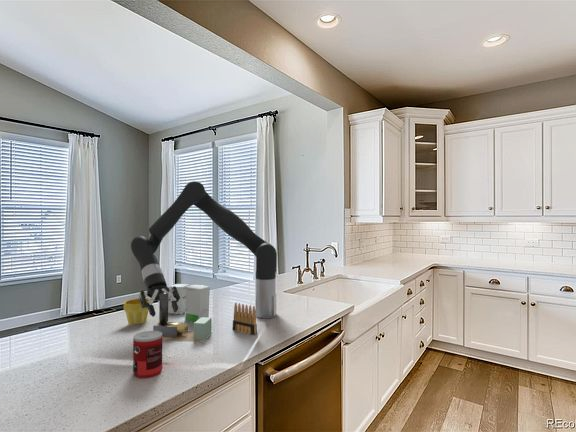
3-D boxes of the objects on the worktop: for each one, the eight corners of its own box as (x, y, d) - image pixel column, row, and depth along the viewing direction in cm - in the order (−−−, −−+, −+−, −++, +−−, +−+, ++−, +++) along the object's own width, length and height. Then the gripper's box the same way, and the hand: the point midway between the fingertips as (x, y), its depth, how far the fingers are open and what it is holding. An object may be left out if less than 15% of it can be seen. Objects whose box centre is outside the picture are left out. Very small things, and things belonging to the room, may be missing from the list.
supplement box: (182, 314, 156) (182, 287, 156) (167, 313, 158) (167, 286, 158) (189, 310, 163) (189, 284, 163) (175, 309, 165) (176, 283, 165)
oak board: (212, 335, 129) (212, 332, 129) (202, 345, 119) (202, 341, 119) (163, 332, 132) (163, 329, 132) (149, 342, 122) (149, 338, 122)
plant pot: (117, 325, 140) (118, 302, 140) (139, 319, 149) (139, 296, 149) (134, 329, 135) (134, 305, 135) (155, 322, 144) (155, 299, 144)
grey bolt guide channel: (182, 332, 128) (182, 322, 128) (176, 337, 123) (176, 326, 123) (160, 331, 130) (160, 321, 130) (153, 336, 124) (153, 325, 124)
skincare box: (184, 323, 144) (184, 286, 144) (194, 319, 149) (195, 283, 149) (199, 326, 140) (200, 288, 140) (210, 321, 146) (210, 285, 146)
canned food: (138, 366, 102) (138, 330, 102) (165, 366, 103) (165, 330, 103) (128, 379, 94) (128, 339, 94) (158, 378, 95) (158, 339, 95)
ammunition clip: (257, 337, 128) (257, 305, 128) (254, 338, 126) (254, 306, 126) (235, 332, 133) (235, 301, 133) (232, 333, 132) (232, 302, 132)
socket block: (211, 333, 128) (211, 317, 128) (204, 340, 121) (204, 323, 121) (201, 332, 128) (201, 317, 128) (193, 339, 121) (193, 323, 121)
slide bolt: (188, 331, 127) (188, 293, 127) (184, 334, 124) (184, 295, 124) (160, 330, 129) (160, 292, 128) (156, 333, 125) (156, 294, 125)
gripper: (137, 274, 127) (148, 311, 119) (173, 270, 137) (186, 304, 128) (132, 286, 131) (143, 322, 123) (168, 281, 141) (180, 315, 132)
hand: (165, 313), depth 126 cm, fingers open, 8 cm apart
